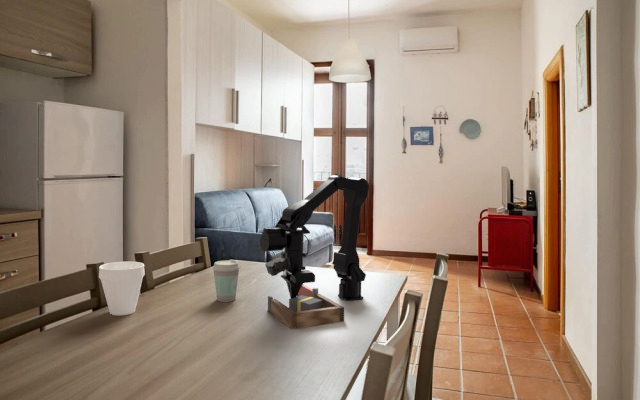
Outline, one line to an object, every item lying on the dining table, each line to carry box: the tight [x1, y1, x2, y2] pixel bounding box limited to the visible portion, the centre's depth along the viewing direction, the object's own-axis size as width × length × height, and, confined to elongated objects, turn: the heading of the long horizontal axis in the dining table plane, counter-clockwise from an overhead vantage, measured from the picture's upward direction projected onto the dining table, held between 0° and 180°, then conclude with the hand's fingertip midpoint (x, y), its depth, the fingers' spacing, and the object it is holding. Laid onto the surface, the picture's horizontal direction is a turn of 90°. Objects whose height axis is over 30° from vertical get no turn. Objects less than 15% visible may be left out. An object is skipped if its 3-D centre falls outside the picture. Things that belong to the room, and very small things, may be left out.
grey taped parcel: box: [288, 295, 323, 312], centre depth 143 cm, size 6×8×4 cm
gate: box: [297, 283, 319, 298], centre depth 155 cm, size 15×2×6 cm, turn 27°
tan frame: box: [267, 293, 345, 330], centre depth 138 cm, size 16×18×4 cm
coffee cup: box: [212, 259, 241, 303], centre depth 154 cm, size 8×8×12 cm
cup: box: [98, 260, 146, 316], centre depth 139 cm, size 12×12×14 cm
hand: (292, 299), depth 146 cm, fingers closed
